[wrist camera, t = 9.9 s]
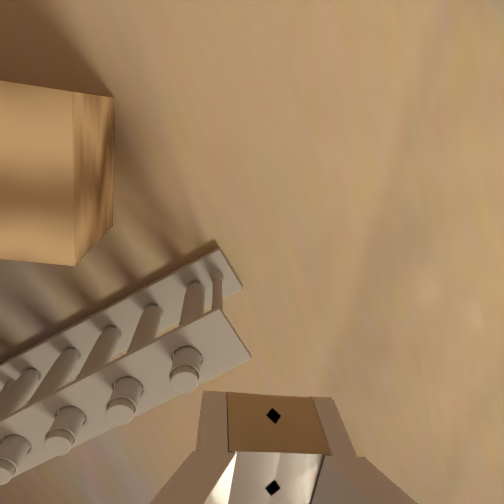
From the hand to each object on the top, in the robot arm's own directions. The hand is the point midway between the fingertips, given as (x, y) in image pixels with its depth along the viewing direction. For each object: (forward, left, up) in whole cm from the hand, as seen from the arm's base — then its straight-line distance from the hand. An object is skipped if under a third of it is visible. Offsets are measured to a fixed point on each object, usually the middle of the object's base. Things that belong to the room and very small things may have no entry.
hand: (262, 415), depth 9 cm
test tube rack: (+14, -9, -24) cm, 30 cm away
